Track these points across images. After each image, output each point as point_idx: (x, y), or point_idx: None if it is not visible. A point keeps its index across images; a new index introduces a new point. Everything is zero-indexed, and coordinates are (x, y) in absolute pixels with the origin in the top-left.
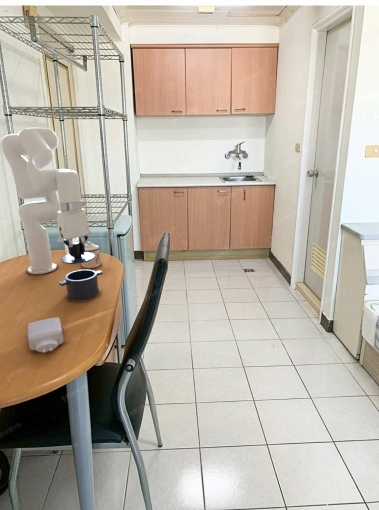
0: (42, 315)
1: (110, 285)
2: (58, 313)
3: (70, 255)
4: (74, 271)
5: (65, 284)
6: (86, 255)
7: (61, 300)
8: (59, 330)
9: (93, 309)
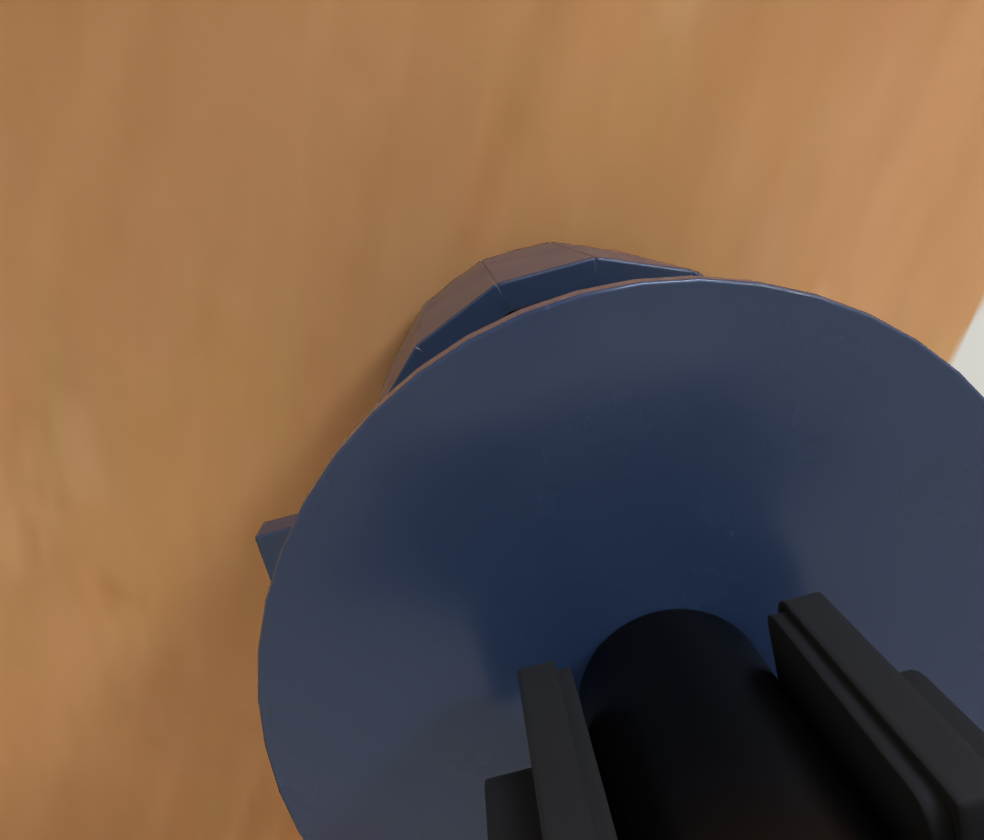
0: (112, 669)
1: (903, 288)
2: (257, 695)
3: (536, 472)
4: (542, 286)
5: None
6: None
7: (310, 426)
8: None
9: None
